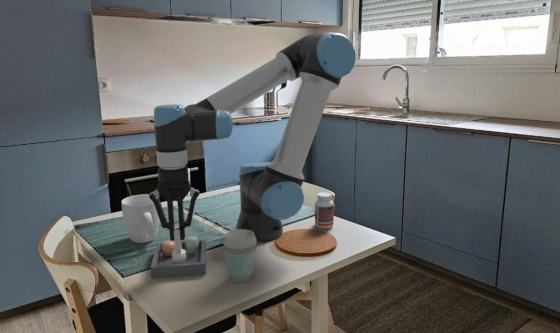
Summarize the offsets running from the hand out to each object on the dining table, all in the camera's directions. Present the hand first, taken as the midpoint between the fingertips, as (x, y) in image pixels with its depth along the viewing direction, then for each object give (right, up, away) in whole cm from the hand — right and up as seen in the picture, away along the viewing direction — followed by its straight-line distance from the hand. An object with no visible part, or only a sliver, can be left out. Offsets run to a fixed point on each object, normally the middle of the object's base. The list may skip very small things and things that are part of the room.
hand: (178, 250), depth 120 cm
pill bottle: (+42, +3, +30) cm, 52 cm away
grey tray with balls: (0, -4, +4) cm, 6 cm away
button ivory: (0, -3, +1) cm, 3 cm away
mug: (-15, -1, +19) cm, 24 cm away
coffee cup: (+17, -6, -4) cm, 19 cm away
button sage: (+2, -1, +7) cm, 8 cm away
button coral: (-4, -2, +6) cm, 8 cm away
